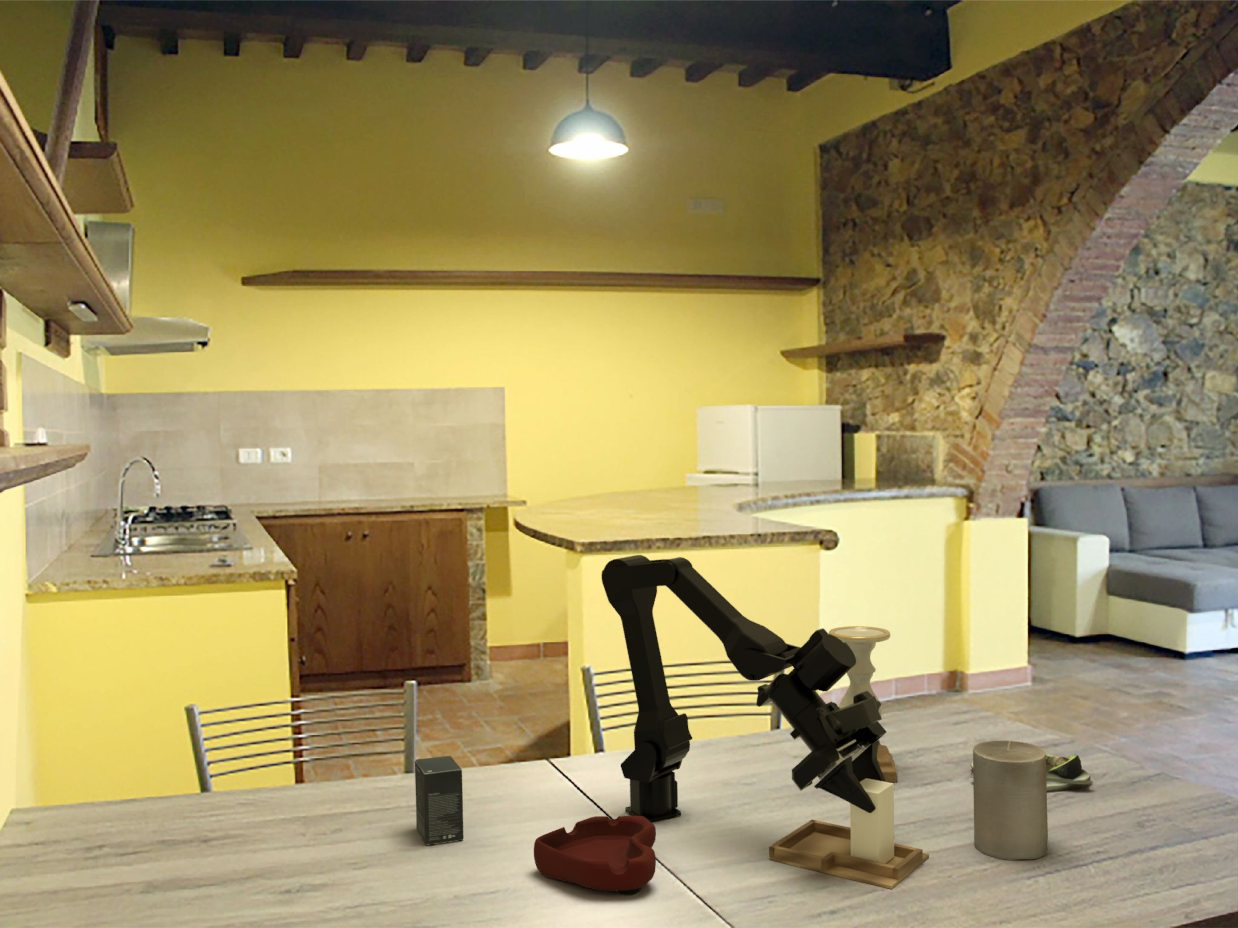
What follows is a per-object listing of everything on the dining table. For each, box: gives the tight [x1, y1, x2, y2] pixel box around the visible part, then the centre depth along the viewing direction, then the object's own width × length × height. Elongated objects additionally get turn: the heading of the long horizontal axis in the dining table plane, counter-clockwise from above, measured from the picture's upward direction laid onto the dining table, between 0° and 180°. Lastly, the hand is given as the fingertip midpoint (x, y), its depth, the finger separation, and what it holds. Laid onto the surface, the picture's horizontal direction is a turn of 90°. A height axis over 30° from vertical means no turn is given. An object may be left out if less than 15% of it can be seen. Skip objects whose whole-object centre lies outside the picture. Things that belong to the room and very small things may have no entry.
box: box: [414, 755, 464, 846], centre depth 168 cm, size 8×6×11 cm
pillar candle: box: [972, 740, 1049, 861], centre depth 158 cm, size 10×10×15 cm
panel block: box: [849, 778, 895, 864], centre depth 154 cm, size 4×5×10 cm
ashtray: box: [533, 815, 657, 896], centre depth 153 cm, size 18×16×5 cm
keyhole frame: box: [768, 819, 930, 890], centre depth 156 cm, size 18×13×2 cm
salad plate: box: [970, 753, 1094, 792], centre depth 188 cm, size 19×18×5 cm
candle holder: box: [828, 625, 898, 783], centre depth 193 cm, size 11×11×24 cm
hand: (881, 805), depth 153 cm, fingers closed on panel block, 5 cm apart
